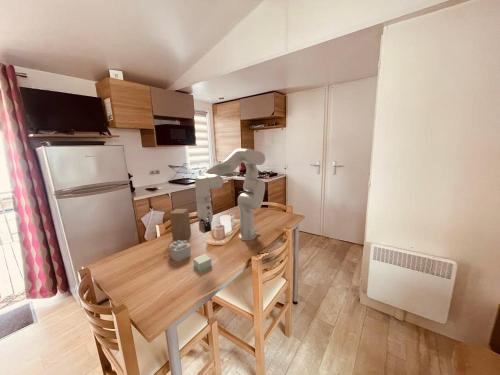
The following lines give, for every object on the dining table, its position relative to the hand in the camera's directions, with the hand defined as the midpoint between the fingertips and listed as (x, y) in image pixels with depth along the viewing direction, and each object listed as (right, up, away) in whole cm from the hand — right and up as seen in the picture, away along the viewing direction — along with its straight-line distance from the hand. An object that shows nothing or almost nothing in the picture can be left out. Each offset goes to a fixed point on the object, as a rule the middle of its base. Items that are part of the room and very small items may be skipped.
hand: (205, 229), depth 114 cm
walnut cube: (0, 0, 0) cm, 1 cm away
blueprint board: (0, -19, -1) cm, 19 cm away
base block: (-1, -19, -4) cm, 19 cm away
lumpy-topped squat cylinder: (-17, -18, +8) cm, 26 cm away
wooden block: (-24, -12, +34) cm, 44 cm away
